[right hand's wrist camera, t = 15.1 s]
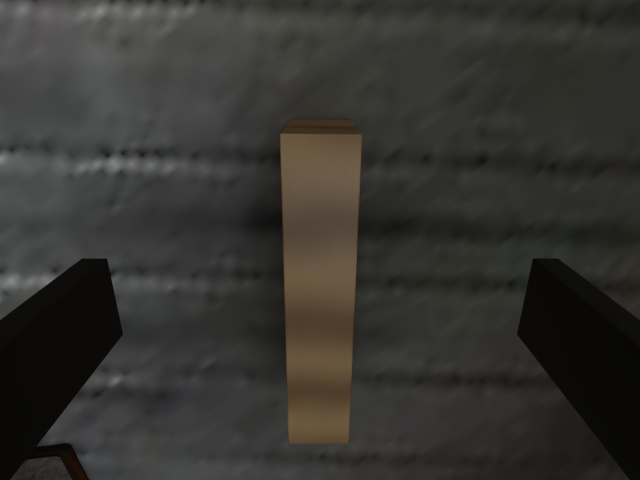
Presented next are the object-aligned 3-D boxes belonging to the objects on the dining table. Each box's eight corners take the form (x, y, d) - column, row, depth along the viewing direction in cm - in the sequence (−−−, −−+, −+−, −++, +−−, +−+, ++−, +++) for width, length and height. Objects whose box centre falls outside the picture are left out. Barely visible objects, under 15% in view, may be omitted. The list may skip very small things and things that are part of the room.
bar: (290, 119, 32) (279, 133, 24) (350, 119, 32) (362, 134, 24) (295, 367, 41) (288, 444, 32) (342, 367, 41) (348, 444, 32)
